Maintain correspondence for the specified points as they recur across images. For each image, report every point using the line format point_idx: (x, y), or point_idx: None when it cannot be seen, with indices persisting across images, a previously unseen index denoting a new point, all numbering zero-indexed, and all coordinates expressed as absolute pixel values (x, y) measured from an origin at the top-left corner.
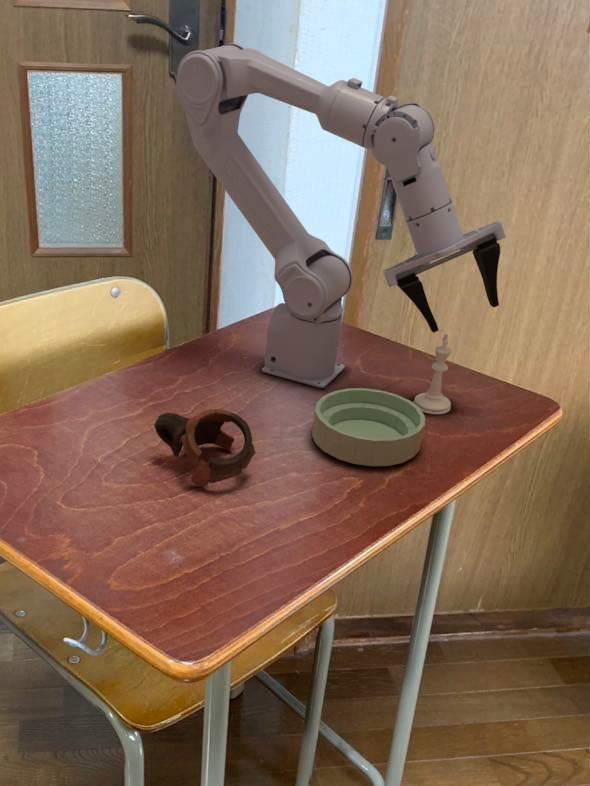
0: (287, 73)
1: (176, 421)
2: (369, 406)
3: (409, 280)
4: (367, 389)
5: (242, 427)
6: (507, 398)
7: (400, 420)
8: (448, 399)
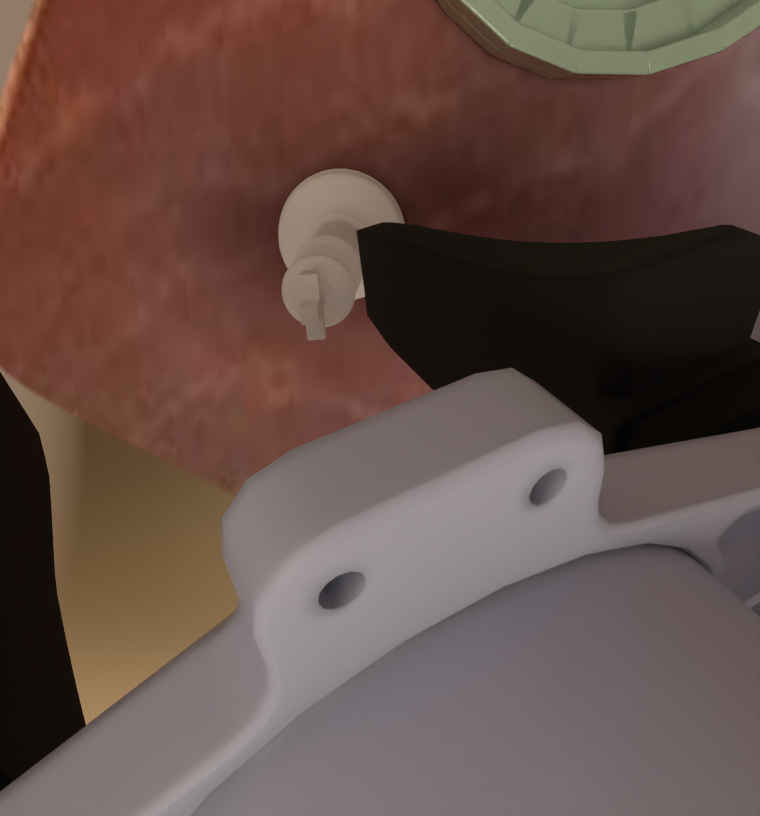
0: None
1: None
2: (605, 22)
3: (693, 387)
4: (637, 60)
5: None
6: (105, 353)
7: None
8: (287, 260)
